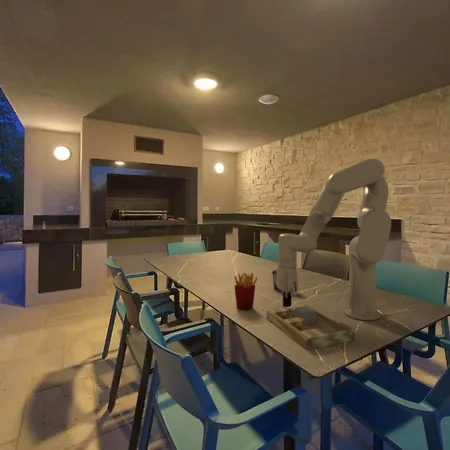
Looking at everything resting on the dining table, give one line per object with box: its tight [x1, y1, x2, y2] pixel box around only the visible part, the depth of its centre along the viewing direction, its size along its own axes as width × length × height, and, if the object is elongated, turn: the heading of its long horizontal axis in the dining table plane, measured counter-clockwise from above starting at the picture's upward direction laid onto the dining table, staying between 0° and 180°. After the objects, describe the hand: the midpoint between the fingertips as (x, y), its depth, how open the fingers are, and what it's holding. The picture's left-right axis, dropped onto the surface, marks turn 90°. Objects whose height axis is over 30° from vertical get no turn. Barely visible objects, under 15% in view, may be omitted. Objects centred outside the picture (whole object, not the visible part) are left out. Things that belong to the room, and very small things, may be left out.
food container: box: [271, 269, 282, 293], centre depth 145 cm, size 12×6×10 cm, turn 47°
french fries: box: [233, 272, 258, 312], centre depth 121 cm, size 9×8×15 cm
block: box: [293, 305, 318, 325], centre depth 107 cm, size 6×6×4 cm
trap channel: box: [266, 304, 356, 351], centre depth 100 cm, size 18×26×4 cm
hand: (287, 306), depth 119 cm, fingers closed
